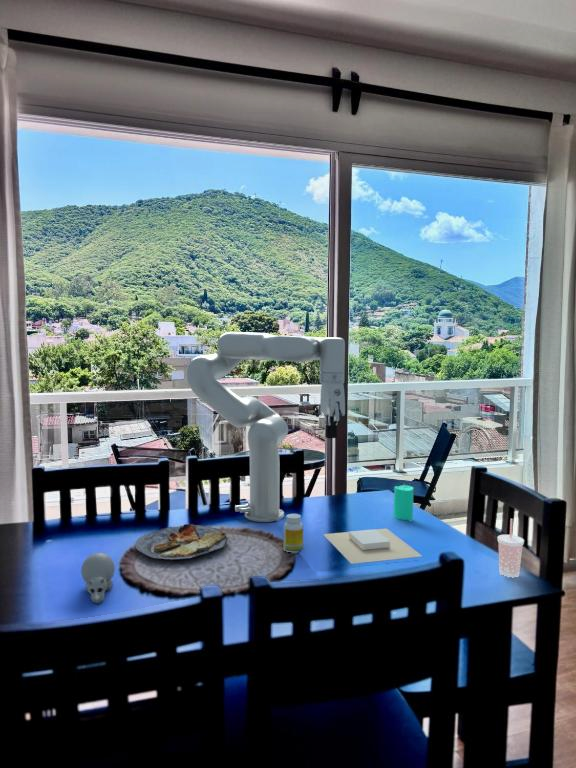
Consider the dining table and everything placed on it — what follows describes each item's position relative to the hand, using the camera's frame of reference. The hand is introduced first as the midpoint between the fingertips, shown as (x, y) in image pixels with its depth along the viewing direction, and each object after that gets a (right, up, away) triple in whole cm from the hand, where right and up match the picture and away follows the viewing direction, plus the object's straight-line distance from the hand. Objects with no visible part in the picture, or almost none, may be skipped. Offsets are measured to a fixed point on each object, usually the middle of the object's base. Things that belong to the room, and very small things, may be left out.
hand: (331, 437), depth 177 cm
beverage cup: (+42, -31, -34) cm, 62 cm away
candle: (+23, -27, +7) cm, 36 cm away
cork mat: (+10, -29, -18) cm, 35 cm away
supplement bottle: (-12, -29, -19) cm, 37 cm away
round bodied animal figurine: (-56, -31, -46) cm, 79 cm away
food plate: (-42, -29, -17) cm, 54 cm away
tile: (+8, -26, -12) cm, 30 cm away
